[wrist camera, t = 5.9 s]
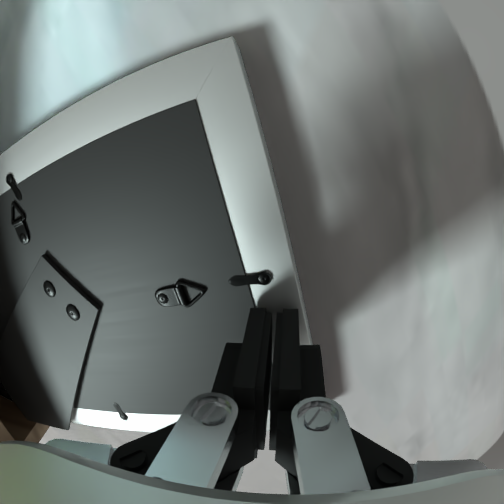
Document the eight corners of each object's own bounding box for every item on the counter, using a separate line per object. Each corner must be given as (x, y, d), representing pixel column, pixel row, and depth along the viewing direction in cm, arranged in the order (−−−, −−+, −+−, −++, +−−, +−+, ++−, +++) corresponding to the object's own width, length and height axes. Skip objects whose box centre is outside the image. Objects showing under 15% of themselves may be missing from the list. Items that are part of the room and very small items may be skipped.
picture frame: (44, 397, 18) (323, 393, 15) (27, 420, 16) (326, 435, 12) (-46, 208, 13) (241, 52, 10) (-75, 221, 11) (228, 27, 7)
